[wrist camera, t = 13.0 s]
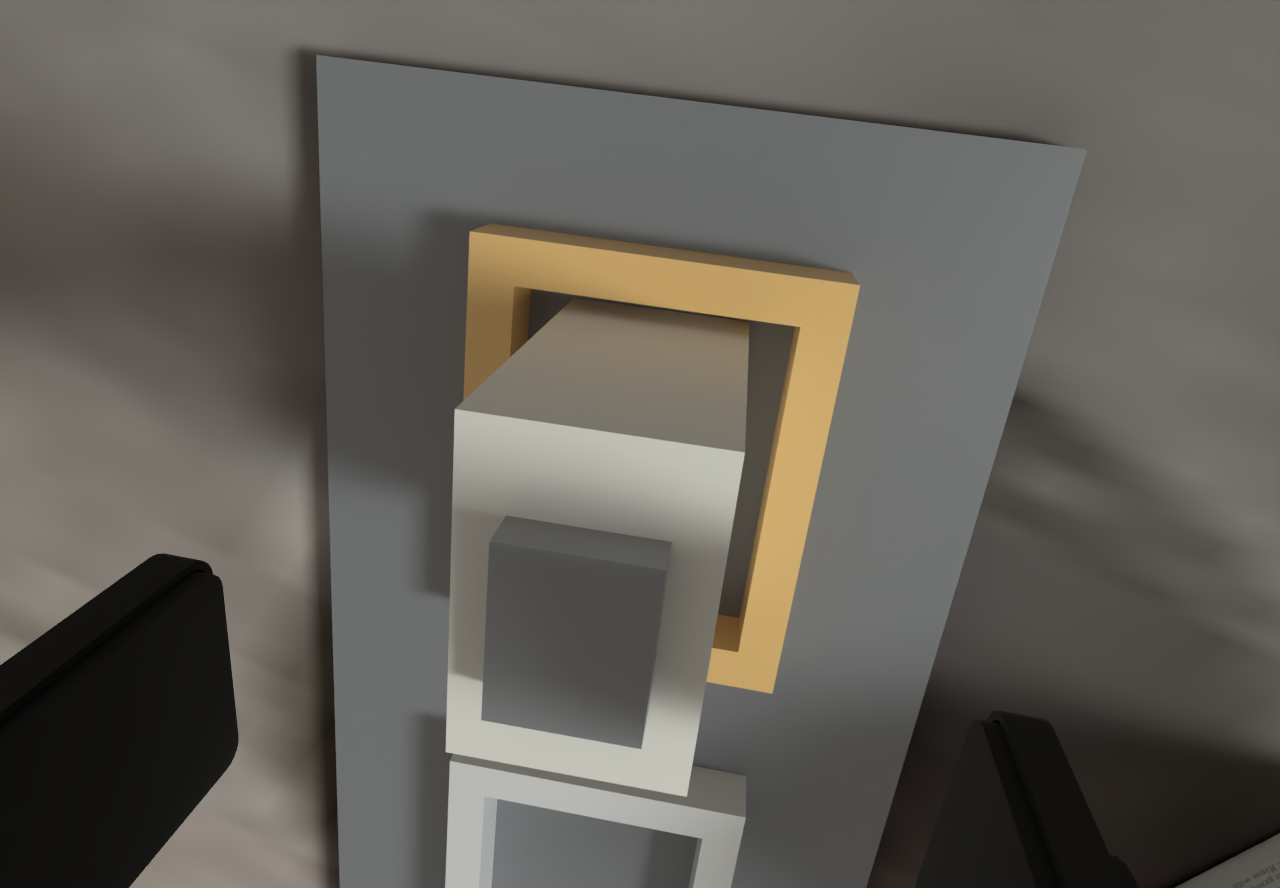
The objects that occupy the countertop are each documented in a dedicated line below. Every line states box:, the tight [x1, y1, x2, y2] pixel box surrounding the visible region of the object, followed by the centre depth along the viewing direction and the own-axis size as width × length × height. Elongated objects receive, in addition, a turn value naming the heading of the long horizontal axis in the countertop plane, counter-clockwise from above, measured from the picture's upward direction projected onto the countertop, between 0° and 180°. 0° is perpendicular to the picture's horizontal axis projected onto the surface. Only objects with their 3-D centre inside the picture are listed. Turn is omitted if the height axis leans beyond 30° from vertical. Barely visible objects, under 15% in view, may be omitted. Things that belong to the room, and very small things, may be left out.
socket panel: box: [316, 55, 1087, 888], centre depth 22 cm, size 16×30×2 cm, turn 173°
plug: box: [446, 298, 750, 797], centre depth 16 cm, size 4×6×9 cm, turn 173°
